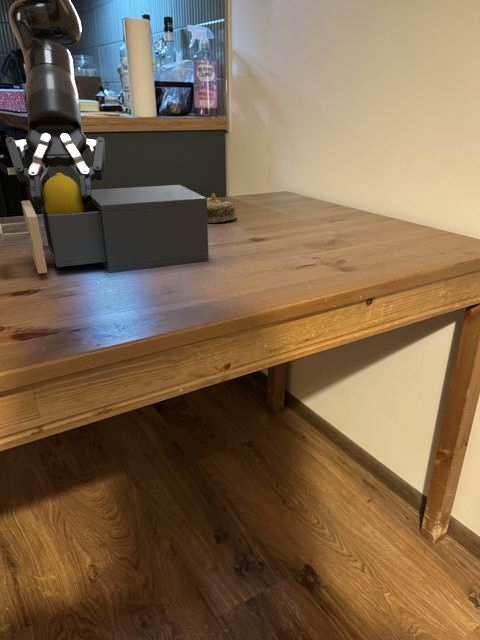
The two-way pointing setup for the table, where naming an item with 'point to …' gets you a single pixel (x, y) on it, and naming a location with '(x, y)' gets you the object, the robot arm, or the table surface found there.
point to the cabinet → (152, 226)
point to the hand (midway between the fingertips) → (63, 202)
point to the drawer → (62, 236)
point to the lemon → (62, 195)
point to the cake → (219, 210)
